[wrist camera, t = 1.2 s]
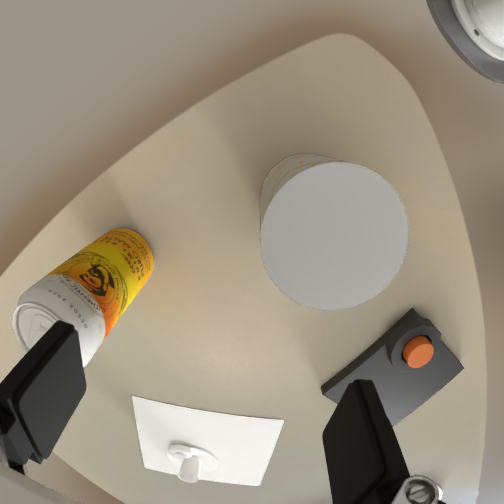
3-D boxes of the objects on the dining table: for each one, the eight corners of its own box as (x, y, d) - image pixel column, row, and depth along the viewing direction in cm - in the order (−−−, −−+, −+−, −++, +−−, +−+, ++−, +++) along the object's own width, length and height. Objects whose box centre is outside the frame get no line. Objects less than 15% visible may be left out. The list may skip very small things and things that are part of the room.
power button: (419, 330, 29) (425, 338, 27) (432, 344, 29) (438, 352, 28) (397, 350, 29) (402, 359, 28) (411, 363, 30) (416, 372, 29)
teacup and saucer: (165, 436, 39) (159, 457, 35) (219, 446, 39) (216, 468, 35) (167, 464, 42) (163, 483, 38) (215, 472, 42) (213, 492, 38)
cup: (304, 134, 25) (338, 128, 14) (368, 199, 27) (433, 238, 16) (240, 202, 27) (226, 245, 16) (306, 261, 29) (332, 335, 18)
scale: (413, 301, 30) (424, 315, 28) (462, 359, 33) (472, 372, 30) (317, 384, 34) (321, 402, 31) (382, 424, 37) (388, 439, 34)
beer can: (167, 252, 29) (98, 346, 15) (136, 295, 31) (68, 394, 17) (119, 213, 28) (18, 276, 14) (91, 258, 30) (1, 336, 16)
